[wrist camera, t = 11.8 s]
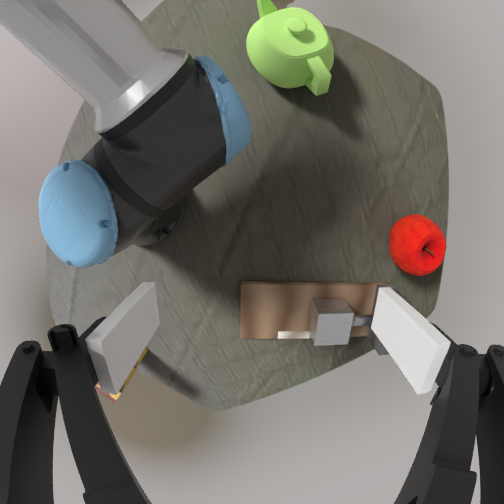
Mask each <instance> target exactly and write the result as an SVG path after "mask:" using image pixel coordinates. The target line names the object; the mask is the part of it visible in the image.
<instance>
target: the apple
mask: <svg viewBox="0 0 504 504" xmlns="http://www.w3.org/2000/svg"><path fill="white" fill-rule="evenodd" d="M389 250H390V255H391V258H392V259H393V261H394V262H395V264H396V265H397V266H398V267H399V268H400V269H402V270H404V271H405V272H407V273H408V274H411V275H418V276H423V275H427V274H429V273H431V272H433V271H435V270H436V269H437V268H438V267H439V266H440V265H441V264H442V261H443V259H444V255H445V251H446V239H445V237H444V235H443V233H442V231H441V230H440V228H439V227H438V226H437V225H436V224H435V223H434V222H432V221H431V220H429V219H428V218H426V217H425V216H422V215H409V216H406V217H403V218H401V219H400V220H398V221H397V222H396V223H395V224H394V225H393V227H392V229H391V231H390V238H389Z"/></svg>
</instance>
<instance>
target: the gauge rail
mask: <svg viewBox="0 0 504 504" xmlns="http://www.w3.org/2000/svg"><path fill="white" fill-rule="evenodd" d="M382 287H390V288H391V289H392V290H393V291H395V292H396V293H397V294H398V295H399V296H400V297H402V298H403V299H404V300H405V301H406V302H407V298H406V297H405V296H403V295H402V294H401V293H400V292H399V291H397V290H396V289H395V288H394V287H393V286H391V285H390V284H389V283H388V282H386V283H303V282H252V281H241V298H240V338H251V339H312V338H311V335H310V332H309V329H308V326H309V318H310V309H311V300H312V299H344V300H345V301H346V303H347V304H348V305H349V307H350V308H351V310H352V311H353V312H354V315H366V314H372V315H373V316H374V312H375V307H376V302H377V296H378V291H379V288H382ZM360 336H367V338H368V339H369V341H370V342H371V344H372V345H373V347H374V348H375V350H376V351H377V353H378V354H379V355H385V354H389V352H388V351H387V350H386V348H385V347H384V345H383V344H382V343H381V341H380V340H379V338H378V337H377V336H376V334H375V333H374V332H373V330H372V329H371V325H367V326H351V331H350V336H349V337H360Z"/></svg>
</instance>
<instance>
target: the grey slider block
mask: <svg viewBox="0 0 504 504" xmlns="http://www.w3.org/2000/svg"><path fill="white" fill-rule="evenodd" d="M372 321H373V315H372V314H366V315H354V312H353V311H352V310H351V308H350V307H349V305H348V304H347V303H346V301H345V300H344V299H312V300H311V309H310V318H309V326H308V329H309V332H310V335H311V338H312V341H313V344H314V346H321V345H327V346H331V345H343V344H348V341H349V336H350V331H351V326H367V325H372Z"/></svg>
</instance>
